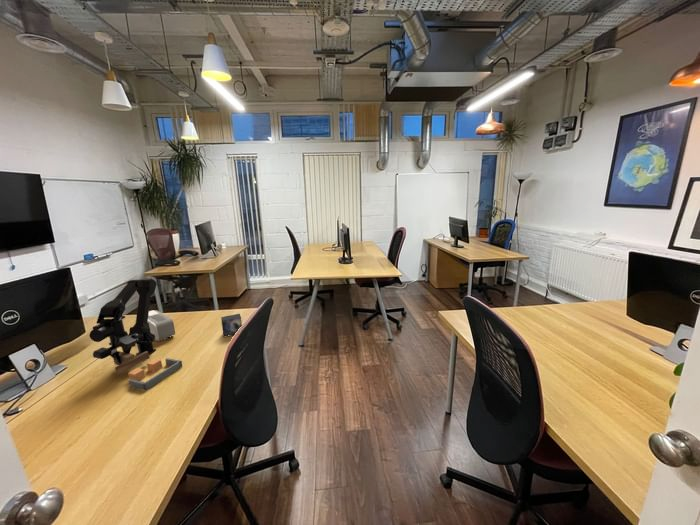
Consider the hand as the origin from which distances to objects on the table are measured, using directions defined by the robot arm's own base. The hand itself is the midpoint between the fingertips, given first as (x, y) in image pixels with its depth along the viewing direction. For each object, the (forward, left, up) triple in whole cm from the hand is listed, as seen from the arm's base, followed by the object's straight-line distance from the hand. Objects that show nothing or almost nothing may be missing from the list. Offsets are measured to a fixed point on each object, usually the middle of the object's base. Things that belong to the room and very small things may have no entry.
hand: (123, 361), depth 133 cm
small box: (+25, +44, -4) cm, 51 cm away
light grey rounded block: (-19, +32, -4) cm, 38 cm away
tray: (+21, 0, -4) cm, 21 cm away
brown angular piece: (+1, 0, -1) cm, 1 cm away
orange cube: (+14, +4, -4) cm, 15 cm away
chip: (+14, -4, -4) cm, 15 cm away
